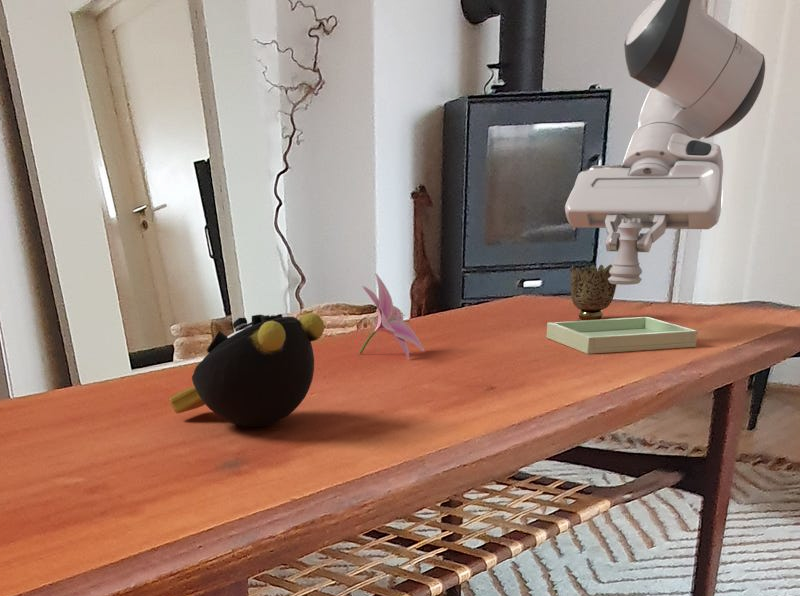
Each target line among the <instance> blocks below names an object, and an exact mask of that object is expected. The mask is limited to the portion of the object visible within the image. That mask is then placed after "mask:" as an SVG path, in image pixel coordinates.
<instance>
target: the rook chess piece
mask: <svg viewBox="0 0 800 596" xmlns="http://www.w3.org/2000/svg"><path fill="white" fill-rule="evenodd" d="M642 229H644V228H643V225H642V224H641V219H640V218H637V219H636V218H632V221H631V219H629V218H625V219H621V223H620V225H619V226H618V230H619V233H620V237H619V239H618V240H619V249H618V251H617V254H616V258H615V260H614V262H613V263H612V264H613V265H612V266H613V267H612V268H611V269H610V271H609V273H610V274H611V277H609V278H608V280H609V282H610V283H611V284H617V285H621V286H623V285H624V286H627V285H629V286H630V285H638V284H640V283H641V282H642V280H643V279H642V277H640V276H641V275H642V274H643V269H642V268H641V266H640V264H641V263H640V262H639V252H637V249H638V248H637V241H638V240H639V235H640V232H641V231H642Z"/></svg>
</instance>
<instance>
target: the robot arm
mask: <svg viewBox="0 0 800 596" xmlns="http://www.w3.org/2000/svg"><path fill="white" fill-rule="evenodd" d="M703 3H704V0H653V1H652V2H651V3H650V4H649V5H648V6H647V7H646V8H645V9H644V10H643V11H642V12H641V13H640V15H639V16H638V17H637V19H636V20H635V21H634V23H633V25H632V26H631V28H630V30H629V32H628V34H627V37H626V38H625V41H624V44H623V49H624V50H623V51H624V59H625V60H624V61H625V65H626V69H627V72H628V75H629V77H630V78H632V79H634V80H636V81H637V82H639V83H641V84H643V85H644V86H647V87H649V88H650V89H649V90H648V93H647V95H646V96H645V97H646V98H645V100H644V102H643V105H642V107H641V110H640V113H639V116H638V121H637V122H638V125H637V126H638V127H637V128H636V129H635V131H634V132H633V134H632V136H631V139H630V141H629V144H628V146H627V149H626V152H625V154H624V158H623V160H622V164H610V165H609V164H608V165H598V164H597V165H596V164H595V165H591V166H590V168H586V169H584V170H583V171H580V172H579V173H578V174H577V177H576V179H575V182H574V186H573V187H572V190H571V191H570V194H569V195H568V197H567V200H566V202H565V205H564V211H565V217H566V219H567V222H568V224H569V225H570V227H572V228H578V229H579V228H580V229H582V228H583V229H585V228H586V229H590V228H591V229H595V228H596V229H605V230H606V235H607V238H606V241H605V249H606V251H607V252H618V249H619V240H618V239H619V237H620V235H621V232H618V230H619V228H618V226H619V225H620V223H621V219H625V218H629V219H631V221H632V218H636V219H637V218H640V219H641V224H642V225H643V228H642V229H649V230H647V231H646V232H643V233H642V232H641V233H640V232H639V240H638V241H637V248H638V249H637V252H638V253H650V252H651V248H652V245H653V244H654V243H655V242H657V240H659V239H660V238H661V237H662V236H663V235H664V234H665V233H666V230H710V229H712V228H714V226H715V225H718V223H719V220H720V216H721V212H722V208H723V198H724V197H723V176H724V161H723V154H722V149H721V146H720V145H719V144H717V143H714V142H709V141H706V140H701V139H702V138H704V139H710V138H712V137H715V136H717V135H719V134H721V133H723V132H726V131H728V130H730V129H732V128H733V127H735V126H736V125H738V123H740V122H741V121H742V120H743V119H744V118H745V117H746V116H747V115H748V113H750V112H751V109H752V108H753V106H754V105H755V104H756V102H757V101H758V98H759V95H760V94H761V91H762V88H763V85H764V80H765V74H766V58H765V55H764V54H763V53H762V52H760V51H759V50H758V49H757V48H756V47H755V46H754V45H752V44H751V43H749V41H747V40H746V39H744V38H743V37H742V36H740V35H739V34H737V32H733V31H732V30H730V28H728V27H726V26H725V25H724V24H723V23H721V22H720V21H718V20H717V19H715V18H714V17H713V16H711V15H710V14H709V13H707V12H706V11H705V10H704V7H703Z"/></svg>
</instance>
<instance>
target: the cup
mask: <svg viewBox="0 0 800 596" xmlns="http://www.w3.org/2000/svg"><path fill="white" fill-rule="evenodd" d="M613 266H614V265H612V264H609V265H607V266H606V267H605V266H604V265H603V264H600V265H599V266H598V267H597V266H596V265H595V264H592V265H590V266H589V264H586V265H585V266H584V267H583V268H582V267H581V265H578V267H575V266H574V265H572V266H570V267H569V271H570V273H569V274H570V275H569V276H570V297H571V301H572V303H573V305H574V307H575V308H577V309H578V310H579V313H578V314H577V315H578V319H579V320H580V321H584V320H601V319H602V318H603V316H604V314H603V313H604V312H603V310H605V309H606V308H608V307H609V306H610V305H611V304H612V302H613V299H614V296H615V293H616V289H617V285H618V284H611V283H610V282H609V280H608V278H609V277H611V274H610V273H609V271H610V269H611V268H612V267H613Z"/></svg>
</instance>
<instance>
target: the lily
mask: <svg viewBox="0 0 800 596" xmlns="http://www.w3.org/2000/svg"><path fill="white" fill-rule="evenodd" d="M375 278H376V282H377V288H378V289H377V290H378V296H377V295H376V293H375V292H374V291H372V290H371V289H370V288H368V287H367V286H364V285H362V286H361V287H362V289H363V290H364V291H365V293H366V294H367V296H369V298H370V299H371V301H372V302H373V303H374V305H375V307H376V309H377V324H376V328H375V329H374V330H373V331H372V332H371V334H369V336H368V338H367V339H366V341H365V342H364V344H363V346H362V348H361V349H360V350H359V355H362V354H363V352H364V350H365V348H366V346H367V344H369V341H370V340H371V338H373V336H374V335H375V334H376V333H377V332H378V331H379V332H380V331H381V332H384V333H387V334H390V335H392V336H393V337H395V339H396V340H397V341H398V343H399V345H400V347H401V349H402V350H403V352H404V354H405V357H406V358H407V360H410V351H409V347H408V344H407V342H409V343H411V344H413V345H415V346H416V347H418V348H419V349H420V350H422V351H423V352H425V348H424V347H423V344H422V343H421V341H420V339H419V338H418V336H417V335H416V333H415V331H414V330H413V329H412V328H411V327H410V326H409V325H408V324H407V323H405V321H404V316H405V314H404V313H403V312H402V310H401V309H400V308H398V307H397V306H395V305H394V303H393V299H392V296H391V295H390V292H389V290H388V288H387V286H386V285H385V283H384V281H383V280H382V279H381V278H380V276H379V275H378V273H375ZM406 341H407V342H406Z"/></svg>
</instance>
